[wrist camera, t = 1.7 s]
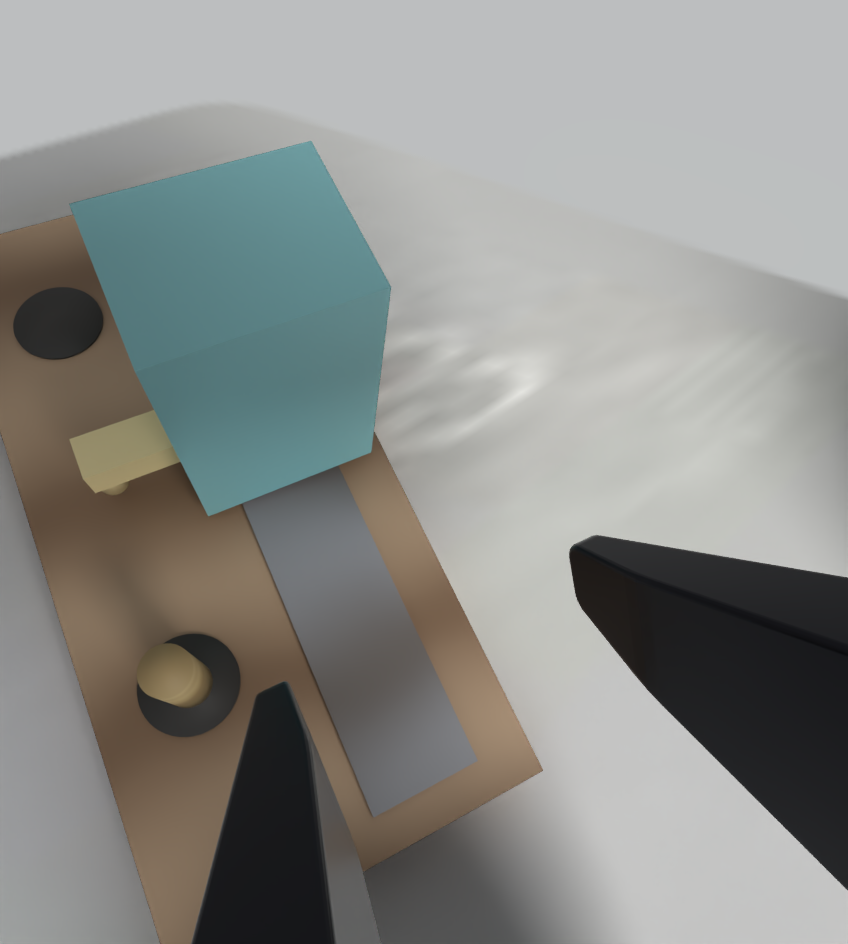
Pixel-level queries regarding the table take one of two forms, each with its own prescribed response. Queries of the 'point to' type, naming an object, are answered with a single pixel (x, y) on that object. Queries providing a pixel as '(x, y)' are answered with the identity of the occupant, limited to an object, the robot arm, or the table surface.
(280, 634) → the board
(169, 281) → the block
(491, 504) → the table surface
